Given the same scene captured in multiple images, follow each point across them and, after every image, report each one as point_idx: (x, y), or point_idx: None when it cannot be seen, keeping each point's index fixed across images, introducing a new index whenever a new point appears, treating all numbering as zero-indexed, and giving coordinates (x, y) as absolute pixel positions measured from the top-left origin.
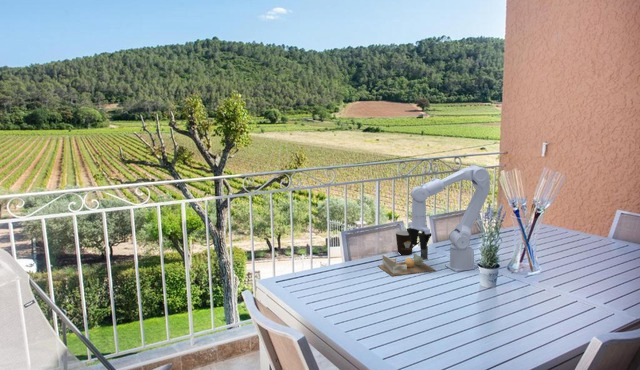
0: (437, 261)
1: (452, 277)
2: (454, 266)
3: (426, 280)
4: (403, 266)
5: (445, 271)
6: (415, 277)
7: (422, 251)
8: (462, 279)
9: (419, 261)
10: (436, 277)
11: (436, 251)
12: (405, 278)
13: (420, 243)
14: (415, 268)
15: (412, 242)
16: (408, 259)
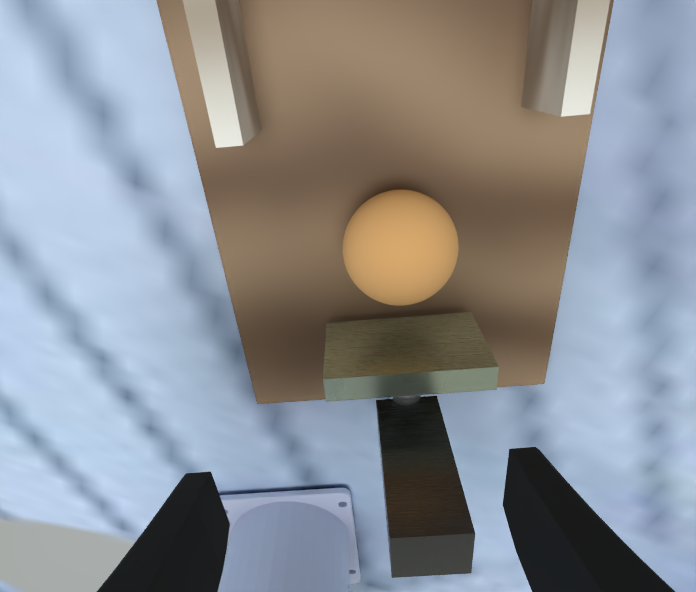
0: (472, 482)
1: (97, 438)
2: (249, 524)
3: (5, 236)
4: (207, 87)
5: (237, 447)
6: (95, 168)
7: (410, 468)
8: (54, 471)
9: (348, 348)
10: (96, 344)
11: (673, 546)
12: (56, 33)
13: (123, 586)
14: (333, 269)
15: (530, 495)
16: (383, 246)
